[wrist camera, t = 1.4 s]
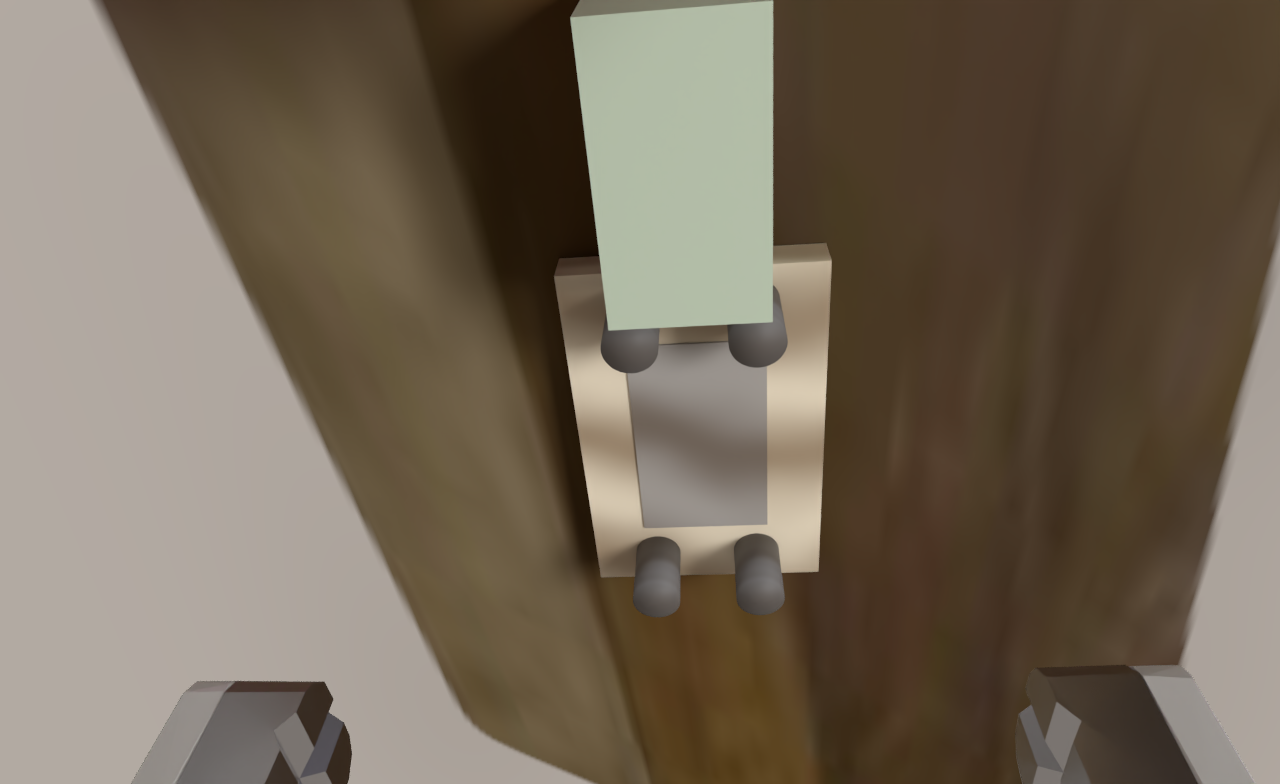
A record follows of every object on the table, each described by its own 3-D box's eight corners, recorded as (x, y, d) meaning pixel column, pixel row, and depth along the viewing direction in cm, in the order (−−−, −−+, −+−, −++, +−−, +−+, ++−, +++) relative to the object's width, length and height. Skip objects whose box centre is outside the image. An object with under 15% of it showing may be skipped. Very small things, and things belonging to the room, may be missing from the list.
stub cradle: (559, 258, 33) (542, 315, 29) (826, 242, 32) (843, 299, 28) (603, 554, 41) (595, 626, 38) (814, 548, 41) (826, 621, 37)
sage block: (595, -29, 27) (570, 17, 21) (755, -43, 27) (773, 0, 21) (622, 236, 32) (608, 330, 26) (757, 228, 32) (772, 322, 26)
